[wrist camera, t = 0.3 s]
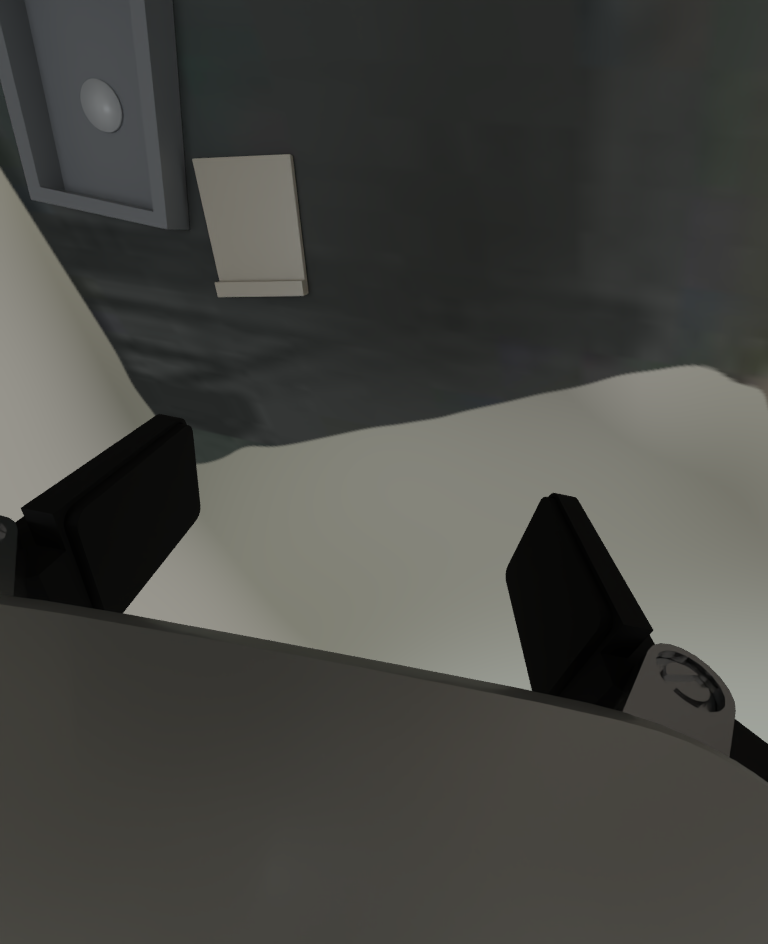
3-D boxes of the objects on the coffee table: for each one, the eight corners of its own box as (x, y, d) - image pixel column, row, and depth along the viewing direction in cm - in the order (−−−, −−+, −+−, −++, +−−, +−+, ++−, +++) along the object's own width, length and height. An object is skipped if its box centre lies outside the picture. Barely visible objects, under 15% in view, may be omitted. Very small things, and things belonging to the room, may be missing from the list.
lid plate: (197, 160, 31) (185, 156, 30) (292, 155, 31) (285, 151, 29) (226, 294, 37) (218, 297, 35) (308, 293, 36) (303, 295, 34)
